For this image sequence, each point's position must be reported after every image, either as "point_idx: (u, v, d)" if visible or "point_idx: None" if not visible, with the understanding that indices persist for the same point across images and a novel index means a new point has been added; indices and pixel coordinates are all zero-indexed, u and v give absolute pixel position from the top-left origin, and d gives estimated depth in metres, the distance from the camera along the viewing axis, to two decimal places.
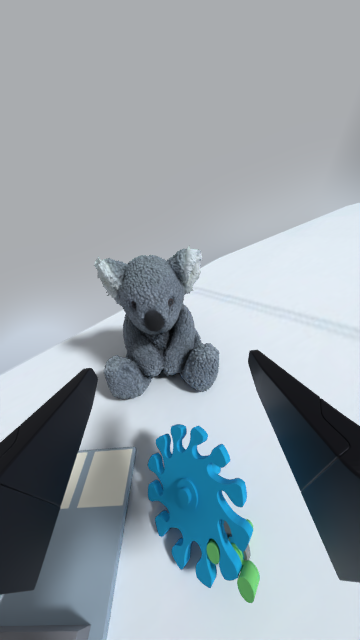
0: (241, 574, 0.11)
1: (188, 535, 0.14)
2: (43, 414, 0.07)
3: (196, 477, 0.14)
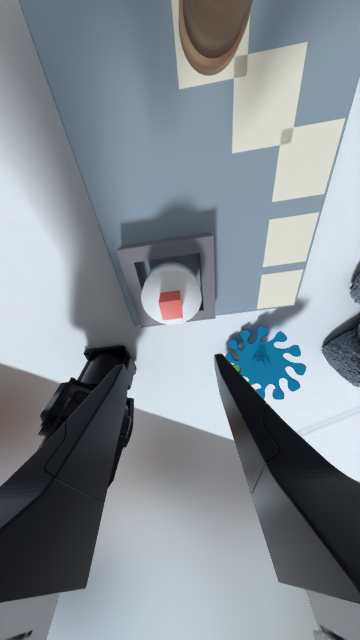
0: None
1: (241, 355, 0.25)
2: (87, 410, 0.07)
3: (268, 374, 0.23)
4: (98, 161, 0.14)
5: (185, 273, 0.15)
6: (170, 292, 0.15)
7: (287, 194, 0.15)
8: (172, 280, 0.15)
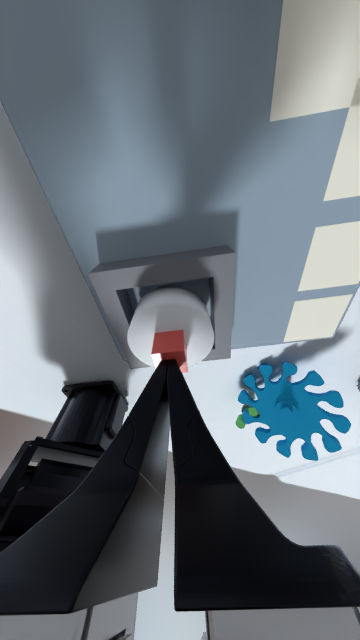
0: (244, 423, 0.21)
1: (260, 396, 0.20)
2: (148, 404, 0.07)
3: (297, 425, 0.18)
4: (52, 134, 0.09)
5: (191, 307, 0.10)
6: (169, 332, 0.11)
7: (348, 189, 0.10)
8: (172, 317, 0.10)
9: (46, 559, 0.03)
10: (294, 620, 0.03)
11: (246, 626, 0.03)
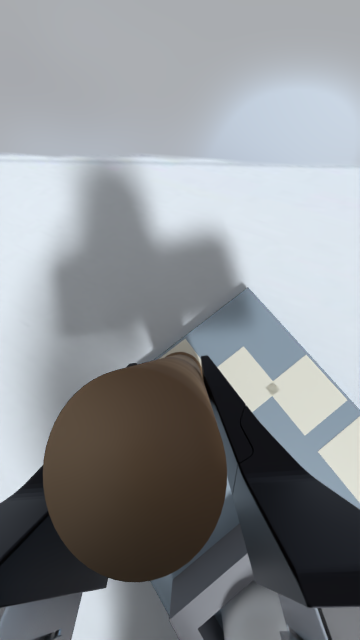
0: None
1: None
2: None
3: None
4: None
5: (271, 612, 0.10)
6: None
7: (313, 421, 0.14)
8: (261, 637, 0.10)
9: None
10: None
11: None
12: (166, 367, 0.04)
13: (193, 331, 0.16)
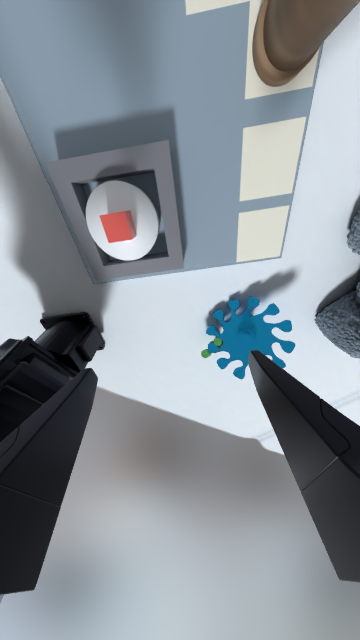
0: (209, 353, 0.23)
1: (226, 327, 0.22)
2: (43, 414, 0.07)
3: None
4: (7, 26, 0.10)
5: (133, 186, 0.13)
6: (119, 212, 0.13)
7: (264, 86, 0.12)
8: (119, 195, 0.13)
9: None
10: None
11: None
12: None
13: None
